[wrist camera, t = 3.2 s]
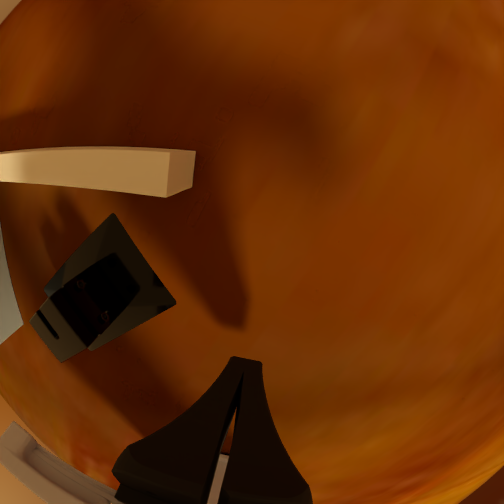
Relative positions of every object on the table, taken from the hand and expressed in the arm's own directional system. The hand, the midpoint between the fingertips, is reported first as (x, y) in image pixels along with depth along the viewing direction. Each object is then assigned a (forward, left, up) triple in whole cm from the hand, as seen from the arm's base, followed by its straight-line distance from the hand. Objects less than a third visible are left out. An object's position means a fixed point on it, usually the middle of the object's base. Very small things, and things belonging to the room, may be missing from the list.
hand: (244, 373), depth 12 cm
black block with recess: (+9, -1, -3) cm, 10 cm away
